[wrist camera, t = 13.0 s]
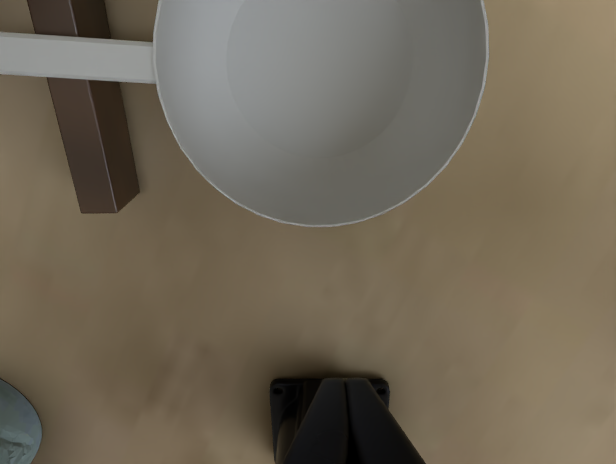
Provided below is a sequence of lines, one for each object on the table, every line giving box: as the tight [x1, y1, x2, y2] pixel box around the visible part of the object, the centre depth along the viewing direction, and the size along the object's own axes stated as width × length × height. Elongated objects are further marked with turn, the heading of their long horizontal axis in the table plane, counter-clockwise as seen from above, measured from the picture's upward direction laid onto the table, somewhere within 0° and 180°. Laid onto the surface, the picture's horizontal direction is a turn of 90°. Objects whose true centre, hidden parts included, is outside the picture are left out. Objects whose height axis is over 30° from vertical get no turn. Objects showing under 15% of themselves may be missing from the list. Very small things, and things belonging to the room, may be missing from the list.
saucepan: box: [0, 0, 489, 227], centre depth 16 cm, size 11×18×4 cm, turn 86°
